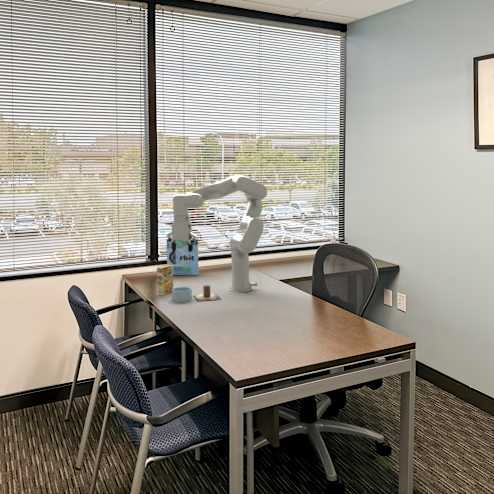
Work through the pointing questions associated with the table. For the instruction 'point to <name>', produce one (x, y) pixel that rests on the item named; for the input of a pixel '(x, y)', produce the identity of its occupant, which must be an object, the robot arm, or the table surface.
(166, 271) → the candy box
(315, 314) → the table surface
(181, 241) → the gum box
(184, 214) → the robot arm
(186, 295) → the ceramic bowl
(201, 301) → the rubber mat
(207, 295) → the brass cover
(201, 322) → the table surface
